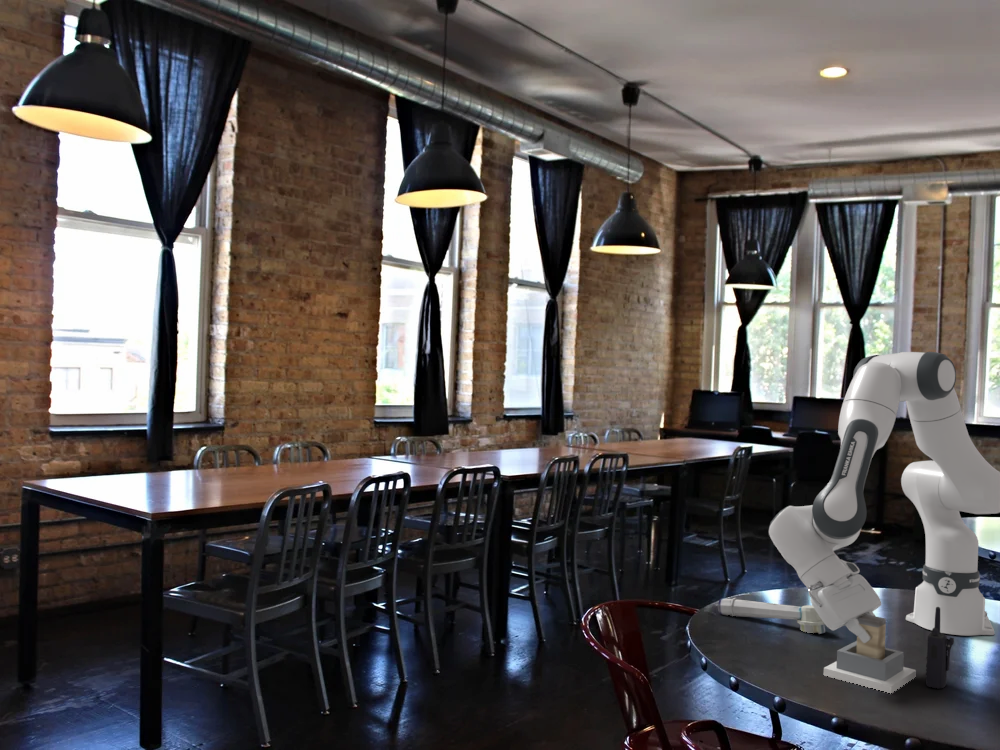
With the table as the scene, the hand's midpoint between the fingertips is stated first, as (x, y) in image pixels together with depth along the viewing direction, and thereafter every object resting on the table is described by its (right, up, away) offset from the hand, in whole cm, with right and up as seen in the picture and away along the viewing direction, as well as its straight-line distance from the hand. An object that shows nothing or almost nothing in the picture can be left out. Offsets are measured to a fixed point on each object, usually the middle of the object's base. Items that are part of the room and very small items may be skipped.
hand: (874, 637), depth 174 cm
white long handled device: (-10, -8, +35) cm, 37 cm away
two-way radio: (+11, -8, -4) cm, 14 cm away
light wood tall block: (-1, -5, +1) cm, 5 cm away
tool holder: (-1, -8, +1) cm, 8 cm away
